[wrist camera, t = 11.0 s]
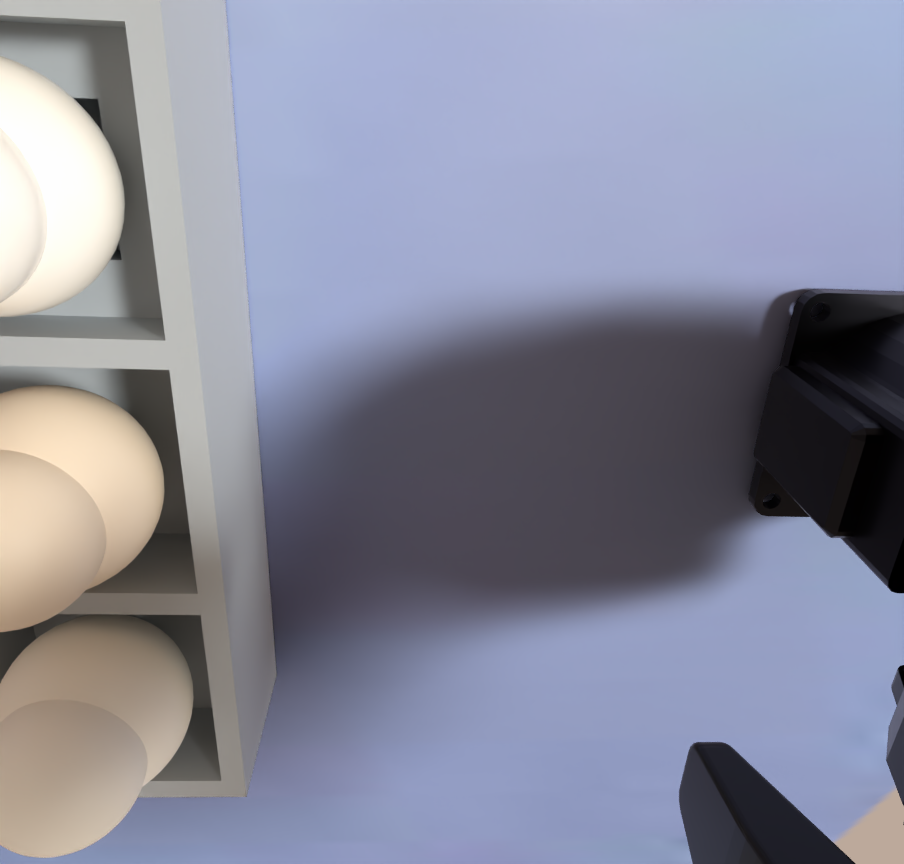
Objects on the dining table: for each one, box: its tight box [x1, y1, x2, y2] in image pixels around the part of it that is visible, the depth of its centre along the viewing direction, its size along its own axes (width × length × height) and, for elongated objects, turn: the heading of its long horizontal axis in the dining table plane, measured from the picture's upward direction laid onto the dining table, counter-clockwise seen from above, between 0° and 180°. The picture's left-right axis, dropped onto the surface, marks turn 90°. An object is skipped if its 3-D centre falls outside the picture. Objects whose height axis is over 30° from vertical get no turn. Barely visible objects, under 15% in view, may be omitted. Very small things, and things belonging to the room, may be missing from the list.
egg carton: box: [0, 0, 277, 858], centre depth 14 cm, size 7×25×8 cm, turn 178°
